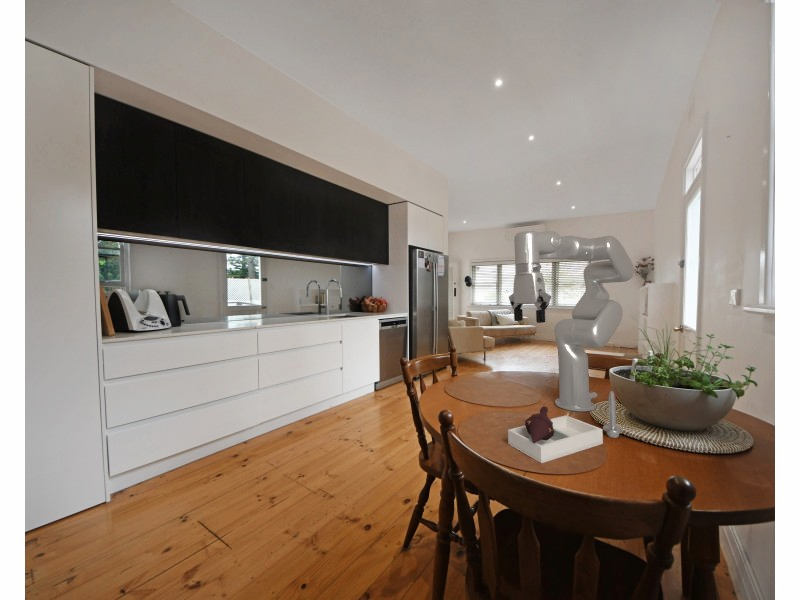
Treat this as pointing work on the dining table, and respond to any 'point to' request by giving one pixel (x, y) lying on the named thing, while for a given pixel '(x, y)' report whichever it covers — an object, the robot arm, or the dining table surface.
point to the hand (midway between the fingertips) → (529, 321)
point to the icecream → (540, 426)
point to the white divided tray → (557, 439)
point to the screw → (612, 419)
